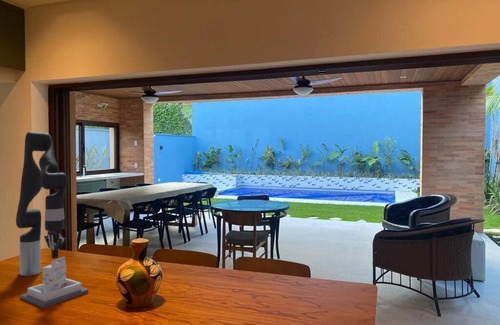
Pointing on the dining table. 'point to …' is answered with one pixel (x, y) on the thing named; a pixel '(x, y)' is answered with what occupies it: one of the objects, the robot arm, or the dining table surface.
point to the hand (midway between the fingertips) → (54, 258)
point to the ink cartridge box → (54, 275)
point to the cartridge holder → (54, 294)
